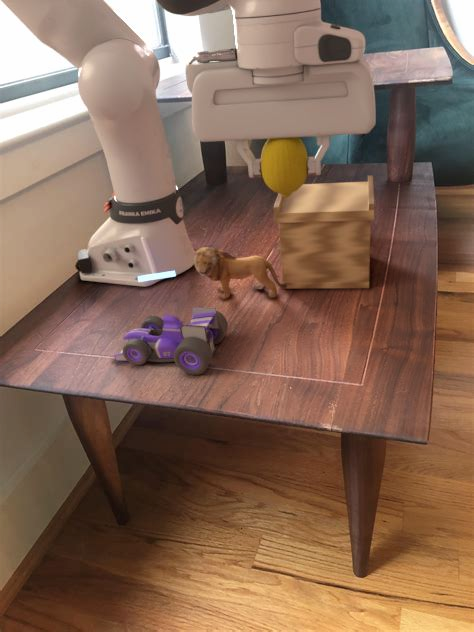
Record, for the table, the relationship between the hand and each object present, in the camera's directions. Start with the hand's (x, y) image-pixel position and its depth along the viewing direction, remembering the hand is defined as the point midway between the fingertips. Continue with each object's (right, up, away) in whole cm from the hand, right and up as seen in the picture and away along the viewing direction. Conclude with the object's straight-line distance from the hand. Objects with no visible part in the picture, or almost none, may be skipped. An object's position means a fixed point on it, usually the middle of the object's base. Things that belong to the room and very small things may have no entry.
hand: (285, 175), depth 64 cm
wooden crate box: (+10, -9, +31) cm, 34 cm away
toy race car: (-15, -22, +15) cm, 31 cm away
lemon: (0, -2, +2) cm, 3 cm away
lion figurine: (-5, -13, +28) cm, 31 cm away
